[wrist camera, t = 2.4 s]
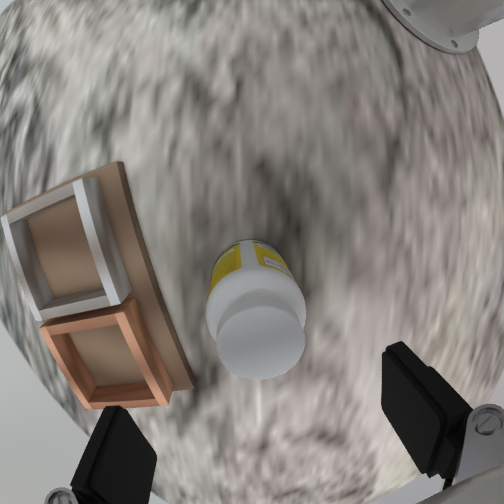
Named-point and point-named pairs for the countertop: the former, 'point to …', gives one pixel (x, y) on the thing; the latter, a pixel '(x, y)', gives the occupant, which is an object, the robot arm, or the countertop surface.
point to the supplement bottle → (255, 311)
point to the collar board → (97, 292)
